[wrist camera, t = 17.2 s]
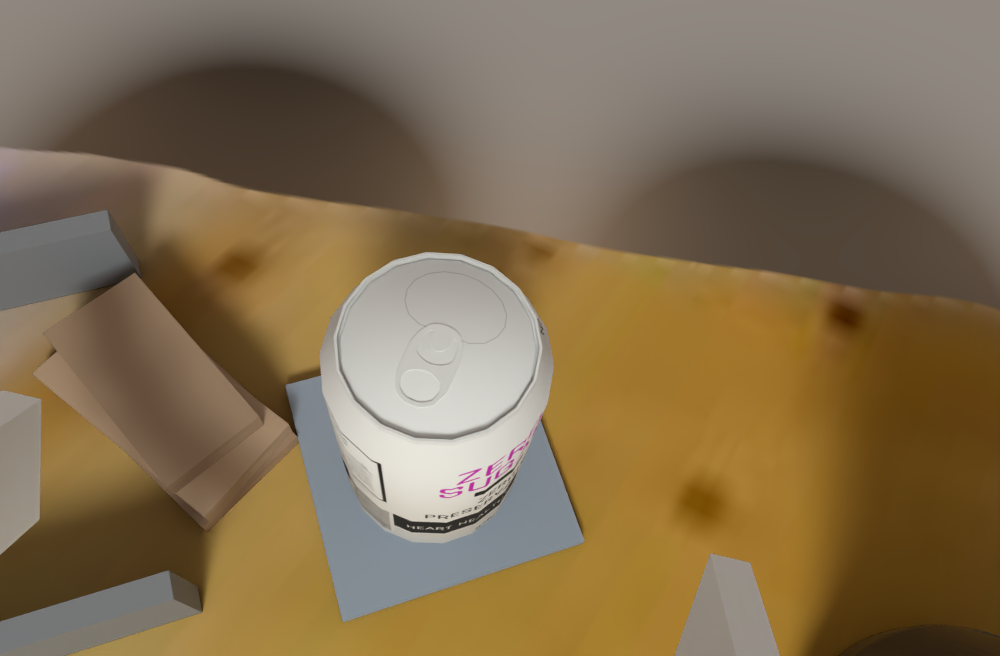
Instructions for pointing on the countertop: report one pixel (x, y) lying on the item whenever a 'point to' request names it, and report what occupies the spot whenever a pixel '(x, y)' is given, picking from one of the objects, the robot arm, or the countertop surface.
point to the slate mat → (414, 565)
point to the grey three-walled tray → (47, 275)
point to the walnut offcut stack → (164, 400)
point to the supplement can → (435, 392)
